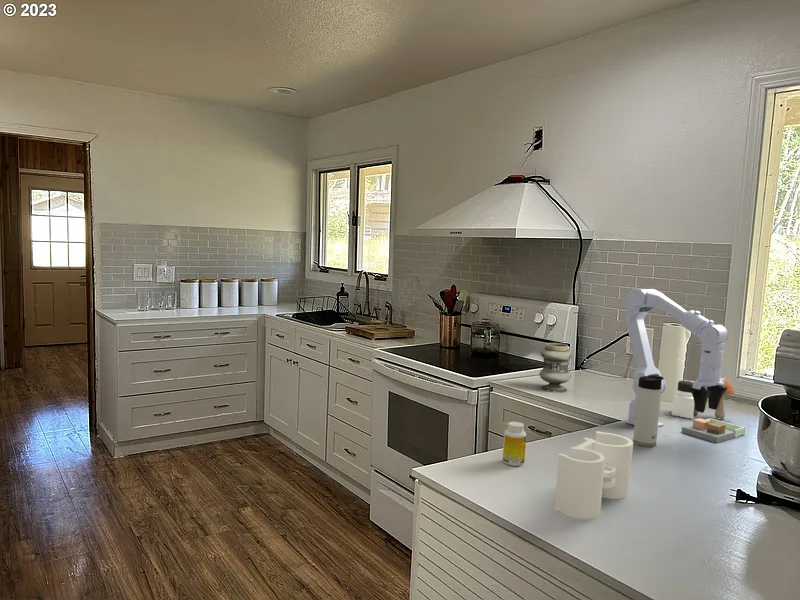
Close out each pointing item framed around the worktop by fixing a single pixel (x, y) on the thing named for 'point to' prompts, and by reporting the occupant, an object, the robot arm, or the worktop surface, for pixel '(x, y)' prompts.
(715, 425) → the walnut tile
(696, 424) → the terracotta tile
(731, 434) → the slate board
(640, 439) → the travel mug
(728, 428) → the sage tray
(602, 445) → the bracket
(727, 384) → the mushroom
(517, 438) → the supplement bottle
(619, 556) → the worktop surface
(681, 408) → the medicine bottle
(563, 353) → the apothecary jar
